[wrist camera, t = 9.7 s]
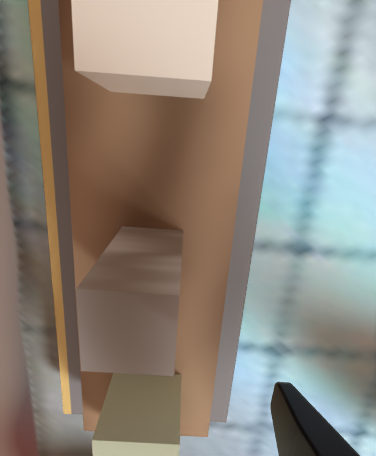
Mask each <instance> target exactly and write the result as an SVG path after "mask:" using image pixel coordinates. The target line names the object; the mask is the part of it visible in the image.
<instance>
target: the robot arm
mask: <svg viewBox="0 0 376 456" xmlns="http://www.w3.org/2000/svg"><path fill="white" fill-rule="evenodd" d="M271 415H272V420H273V426H274V431H275V437H276V442H277V448H278V453H279V456H360V455H359V454H358V453H357V452H356V451H355V450H354V449H353V448H352V447H351V446H350V445H349V444H348V443H347V441H346V440H345V439H344V438H343V437H342V436H341V435H340V434H339V433H338V432H337V431H336V430H335V429H334V428H333V427H332V426H331V425H330V424H329V423H328V422H327V420H326V419H325V418H324V417H323V416H322V415H321V414H320V413H319V412H318V411H317V410H316V409H315V408H314V407H313V406H312V405H311V404H310V403H309V402H308V401H307V399H306V398H305V397H304V396H303V395H302V394H301V393H300V392H299V391H298V390H297V389H296V388H295V387H294V386H293V385H292V384H291V383H288V382H277V383H276V384H275V386H274V391H273V395H272V400H271Z"/></svg>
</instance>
